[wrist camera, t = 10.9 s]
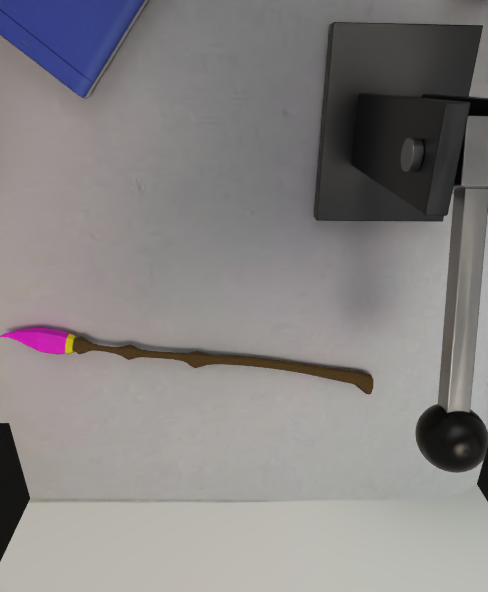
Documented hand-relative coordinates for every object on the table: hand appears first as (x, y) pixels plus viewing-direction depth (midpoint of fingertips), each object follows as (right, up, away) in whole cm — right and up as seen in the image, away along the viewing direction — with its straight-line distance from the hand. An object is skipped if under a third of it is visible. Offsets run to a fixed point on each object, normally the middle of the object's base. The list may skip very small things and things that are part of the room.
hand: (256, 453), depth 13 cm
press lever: (+10, +4, +10) cm, 14 cm away
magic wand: (-4, 0, +25) cm, 26 cm away
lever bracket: (+9, +16, +18) cm, 26 cm away
